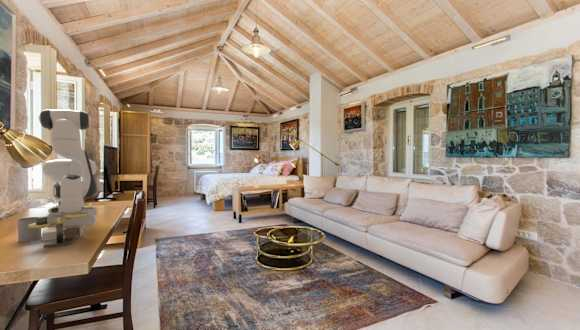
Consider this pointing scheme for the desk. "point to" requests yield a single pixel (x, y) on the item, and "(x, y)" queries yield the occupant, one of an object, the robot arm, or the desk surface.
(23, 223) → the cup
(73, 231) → the walnut block
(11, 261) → the desk surface
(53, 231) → the grey stone block
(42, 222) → the balance
